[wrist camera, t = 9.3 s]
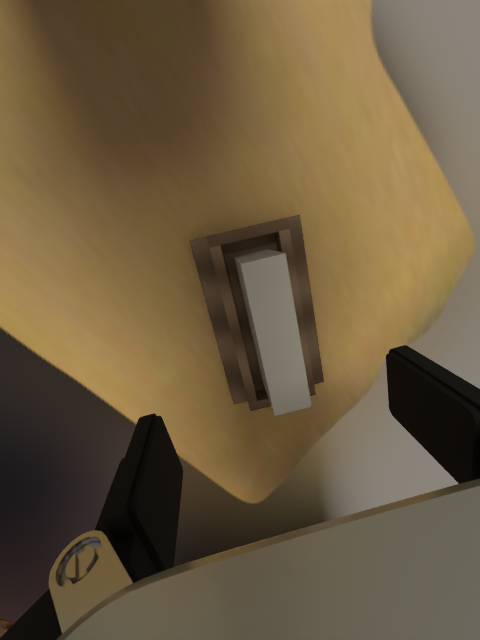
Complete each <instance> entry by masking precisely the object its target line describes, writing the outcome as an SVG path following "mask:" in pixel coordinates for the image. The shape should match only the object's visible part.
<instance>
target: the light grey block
mask: <svg viewBox="0 0 480 640" xmlns="http://www.w3.org/2000/svg"><path fill="white" fill-rule="evenodd" d="M234 261H235V265H236V270H237V274H238V278H239V283H240V287H241V291H242V296H243V300H244V304H245V309H246V313H247V317H248V322H249V326H250V330H251V335H252V339H253V343H254V348H255V352H256V356H257V361H258V365H259V369H260V374H261V378H262V381H263V384H264V387H265V390H266V393H267V395H268V398H269V401H270V404H271V407H272V410H273V413H274V416H278V415H282V414H286V413H289V412H293V411H297V410H301V409H305V408H309V407H312V405H311V399H310V393H309V388H308V382H307V376H306V370H305V364H304V358H303V353H302V347H301V341H300V335H299V329H298V323H297V318H296V312H295V306H294V300H293V294H292V288H291V283H290V277H289V271H288V265H287V259H286V253H282V252H278V251H274V250H269V249H266V250H262V251H258V252H254V253H249V254H245V255H241V256H237V257H234Z"/></svg>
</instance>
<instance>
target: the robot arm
mask: <svg viewBox="0 0 480 640" xmlns="http://www.w3.org/2000/svg"><path fill="white" fill-rule="evenodd" d="M386 365H387V381H388V398H389V409H390V412H391V413H392V415H393V416H394V418H395V419H396V420H397V421H398V422H399V423H400V424H401V425H402V426H403V427H404V428H405V429H406V430H407V431H408V432H409V433H410V434H411V435H412V436H413V437H414V438H415V439H416V440H417V441H418V442H419V443H420V444H421V445H422V446H423V447H424V448H425V449H426V450H427V451H428V452H429V453H430V454H431V455H432V456H433V457H434V458H435V460H436V461H437V462H438V463H439V464H440V465H441V466H442V467H443V468H444V469H445V470H446V471H447V472H448V473H449V474H450V475H451V476H452V477H453V478H454V479H455V480H456V481H457V482H458V483H459V484H458V485H454V486H450V487H447V488H444V489H440V490H436V491H432V492H429V493H425V494H422V495H418V496H415V497H411V498H407V499H404V500H400V501H397V502H393V503H390V504H386V505H383V506H379V507H376V508H372V509H369V510H365V511H362V512H358V513H355V514H351V515H348V516H344V517H341V518H338V519H334V520H330V521H327V522H323V523H320V524H316V525H313V526H310V527H306V528H303V529H299V530H296V531H292V532H289V533H286V534H282V535H279V536H276V537H272V538H268V539H265V540H262V541H259V542H255V543H251V544H248V545H245V546H241V547H238V548H234V549H231V550H228V551H224V552H221V553H218V554H214V555H211V556H208V557H205V558H202V559H199V560H196V561H192V562H189V563H186V564H183V565H179V566H176V567H174V558H175V548H176V539H177V528H178V519H179V509H180V499H181V488H182V478H183V470H182V465H181V463H180V460H179V458H178V455H177V453H176V450H175V448H174V446H173V443H172V441H171V438H170V436H169V434H168V431H167V429H166V427H165V424H164V422H163V419H162V417H161V416H156V414H150V415H147V416H143V417H140V418H139V420H138V422H137V425H136V428H135V431H134V433H133V436H132V439H131V442H130V444H129V447H128V450H127V453H126V456H125V458H123V459H122V460H121V462H120V464H119V467H118V469H117V472H116V475H115V477H114V480H113V483H112V485H111V488H110V491H109V493H108V496H107V499H106V501H105V504H104V507H103V509H102V512H101V515H100V517H99V520H98V523H97V525H96V528H95V531H90V532H87V533H85V534H83V535H81V536H79V537H78V538H76V539H75V540H74V541H72V542H71V543H70V544H69V545H68V546H67V547H66V548H65V549H64V550H63V552H62V553H61V554H60V556H59V557H58V558H57V560H56V562H55V564H54V566H53V568H52V570H51V573H50V577H49V589H48V590H47V592H46V593H45V594H43V595H42V596H41V598H39V599H38V600H37V601H36V602H35V603H34V604H33V606H31V607H30V608H29V609H28V610H27V612H25V614H23V615H22V617H20V618H19V619H18V620H17V621H16V622H15V623H14V624H13V625H12V626H11V627H10V628H9V629H8V630H7V631H6V632H5V633H4V634H3V635H2V636H1V637H0V640H480V389H479V388H477V387H475V386H474V385H472V384H470V383H468V382H467V381H465V380H463V379H462V378H460V377H458V376H456V375H455V374H453V373H452V372H450V371H448V370H447V369H445V368H443V367H442V366H440V365H438V364H437V363H435V362H433V361H432V360H430V359H428V358H426V357H425V356H423V355H422V354H420V353H418V352H417V351H415V350H413V349H411V348H410V347H408V346H406V345H404V346H400V347H396V348H393V349H390V351H389V353H388V354H387V355H386Z"/></svg>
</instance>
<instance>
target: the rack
mask: <svg viewBox="0 0 480 640" xmlns="http://www.w3.org/2000/svg"><path fill="white" fill-rule="evenodd" d="M190 244H191V248H192V252H193V255H194V259H195V263H196V266H197V270H198V274H199V277H200V281H201V285H202V288H203V292H204V296H205V300H206V303H207V307H208V311H209V314H210V318H211V322H212V325H213V329H214V333H215V336H216V340H217V344H218V348H219V351H220V355H221V359H222V362H223V366H224V370H225V373H226V377H227V381H228V384H229V388H230V392H231V395H232V399H233V403H234V404H238V403H242V402H246V401H248V403H249V407H250V411H253V410H257V409H261V408H265V407H269V406H271V404H270V401H269V398H268V395H267V393H266V390H265V387H264V384H263V381H262V378H261V374H260V369H259V365H258V361H257V356H256V352H255V348H254V343H253V339H252V335H251V330H250V326H249V322H248V317H247V313H246V309H245V304H244V300H243V296H242V291H241V287H240V283H239V278H238V274H237V270H236V265H235V261H234V257H237V256H241V255H245V254H249V253H254V252H258V251H262V250H266V249H269V250H274V251H278V252H282V253H286V259H287V265H288V271H289V277H290V283H291V288H292V294H293V300H294V306H295V312H296V318H297V323H298V329H299V335H300V341H301V347H302V353H303V358H304V364H305V370H306V376H307V382H308V388H309V393H310V396H313V395H316V393H315V387H314V384H317V383H321V382H324V379H323V372H322V365H321V358H320V352H319V345H318V338H317V331H316V324H315V317H314V310H313V303H312V296H311V289H310V283H309V276H308V269H307V262H306V255H305V248H304V241H303V234H302V227H301V221H300V215H296V216H292V217H288V218H283V219H279V220H275V221H271V222H266V223H262V224H258V225H254V226H249V227H245V228H241V229H237V230H233V231H228V232H224V233H220V234H216V235H211V236H207V237H203V238H199V239H195V240H190Z"/></svg>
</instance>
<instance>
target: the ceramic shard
mask: <svg viewBox="0 0 480 640" xmlns="http://www.w3.org/2000/svg"><path fill="white" fill-rule="evenodd" d="M14 623H15V622H10V621H6V620H2V619H0V637H1V636H2V635H3V634H4V633H5V632H6V631H7V630H8V629H9V628H10V627H11V626H12V625H13V624H14Z"/></svg>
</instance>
